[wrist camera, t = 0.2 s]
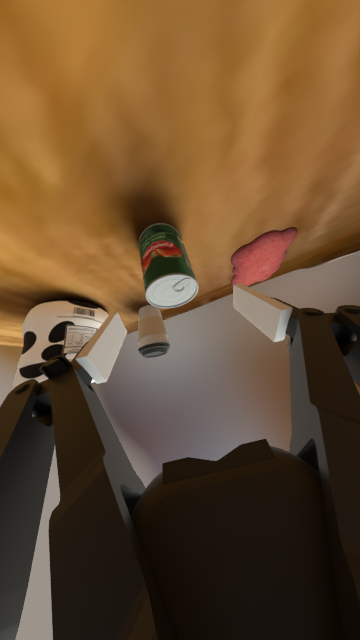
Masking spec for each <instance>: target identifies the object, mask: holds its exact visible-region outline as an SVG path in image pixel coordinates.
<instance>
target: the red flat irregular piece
mask: <svg viewBox="0 0 360 640" xmlns="http://www.w3.org/2000/svg"><path fill="white" fill-rule="evenodd" d="M296 235H297V230H296V229H295V228H288V229H286V230H283V231H281V232H279V231H270V232H267V233H265V234H263V235H261V236H259V237H258V238H256V239H255V240H254V241H253V242H251V243H250V244H247V245H244V246H242V247H241V248H239V249H238V250H237V251H236V252H235V253H234V254H233V256H232V258H231V263H232V265H234V268H233V273H234V274H235V275H234V276H233V278H232V280H231V284H232V285H235V284H239V283H241V284H243V285H245V286H248V285H251V284H253V283H255V282H257V281H258V282H259V281H263V280H265V279H267V278H269V277H270V276H271V275H272V274H273V273H274V272H275V271H276V270H277V269H278V268H279V267H280V265H281V262H282V261H283V260H284V258H285V257H286V249H287V247H288V246H289V245H290V244H291V243H292V242H293V241H294V239H295V237H296Z"/></svg>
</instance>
